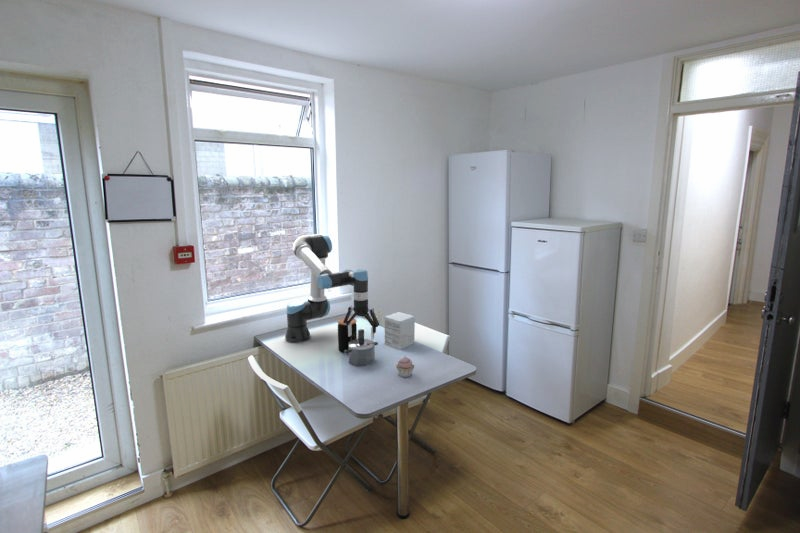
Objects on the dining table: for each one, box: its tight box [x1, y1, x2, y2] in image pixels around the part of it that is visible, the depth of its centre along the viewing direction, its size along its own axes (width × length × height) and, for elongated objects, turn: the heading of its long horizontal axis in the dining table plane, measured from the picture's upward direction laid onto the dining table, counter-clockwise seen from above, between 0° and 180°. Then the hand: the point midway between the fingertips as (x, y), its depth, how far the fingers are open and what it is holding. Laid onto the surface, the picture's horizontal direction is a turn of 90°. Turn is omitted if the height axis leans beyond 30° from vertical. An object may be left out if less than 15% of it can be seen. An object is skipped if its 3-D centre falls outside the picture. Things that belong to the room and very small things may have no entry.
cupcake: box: [395, 356, 415, 379], centre depth 201 cm, size 9×9×10 cm
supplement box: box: [384, 311, 416, 350], centre depth 240 cm, size 13×13×18 cm
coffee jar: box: [337, 317, 358, 354], centre depth 230 cm, size 11×11×18 cm
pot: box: [343, 341, 379, 367], centre depth 217 cm, size 20×14×9 cm
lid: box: [348, 328, 375, 351], centre depth 215 cm, size 14×14×10 cm
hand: (361, 337), depth 215 cm, fingers open, 13 cm apart
